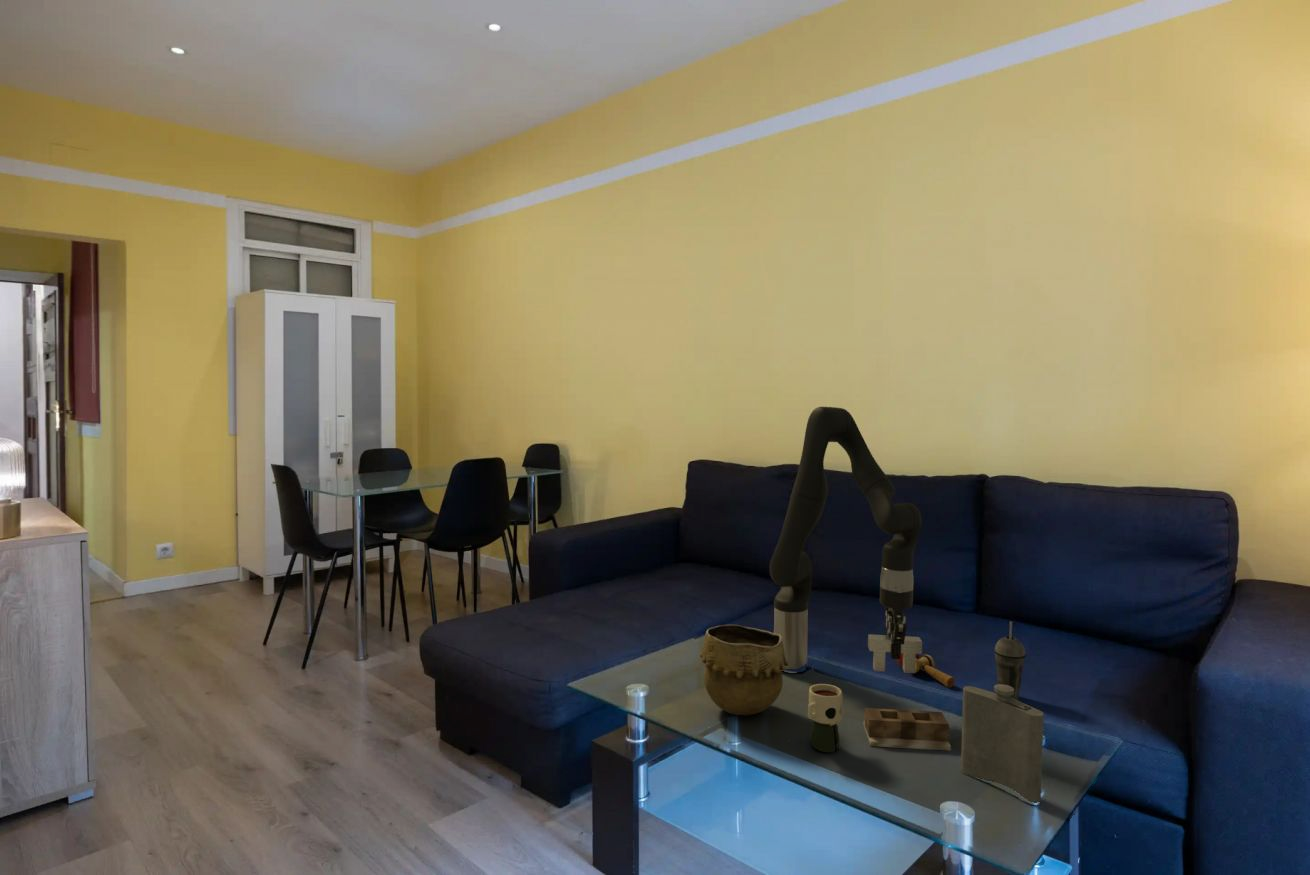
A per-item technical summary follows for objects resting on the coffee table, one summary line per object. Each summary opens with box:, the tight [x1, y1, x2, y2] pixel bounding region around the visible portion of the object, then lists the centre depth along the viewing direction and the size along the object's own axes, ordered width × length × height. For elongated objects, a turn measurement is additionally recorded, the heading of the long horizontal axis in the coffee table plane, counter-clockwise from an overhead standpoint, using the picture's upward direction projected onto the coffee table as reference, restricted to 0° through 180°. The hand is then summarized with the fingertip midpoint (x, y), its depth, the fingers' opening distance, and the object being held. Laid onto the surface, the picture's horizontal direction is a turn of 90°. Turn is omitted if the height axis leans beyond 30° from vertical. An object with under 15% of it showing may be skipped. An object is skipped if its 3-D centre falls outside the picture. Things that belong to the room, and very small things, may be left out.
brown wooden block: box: [862, 707, 952, 752], centre depth 163 cm, size 17×10×5 cm, turn 83°
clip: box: [867, 633, 923, 674], centre depth 175 cm, size 12×3×8 cm, turn 82°
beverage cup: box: [993, 620, 1027, 701], centre depth 184 cm, size 7×7×20 cm
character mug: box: [807, 683, 844, 753], centre depth 159 cm, size 11×7×13 cm, turn 127°
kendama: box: [896, 653, 956, 689], centre depth 198 cm, size 8×6×18 cm
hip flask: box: [960, 683, 1045, 803], centre depth 143 cm, size 16×4×20 cm, turn 35°
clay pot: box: [699, 624, 789, 716], centre depth 176 cm, size 21×21×20 cm
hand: (894, 655), depth 175 cm, fingers closed on clip, 3 cm apart
